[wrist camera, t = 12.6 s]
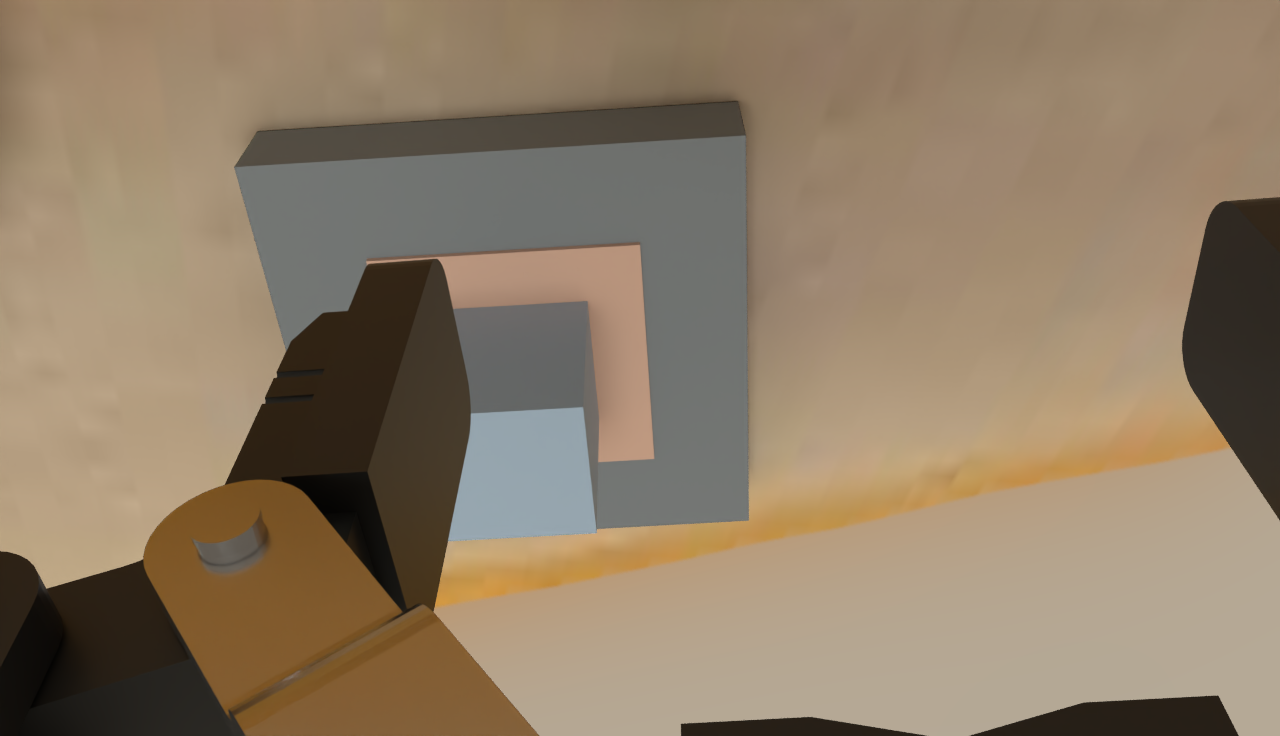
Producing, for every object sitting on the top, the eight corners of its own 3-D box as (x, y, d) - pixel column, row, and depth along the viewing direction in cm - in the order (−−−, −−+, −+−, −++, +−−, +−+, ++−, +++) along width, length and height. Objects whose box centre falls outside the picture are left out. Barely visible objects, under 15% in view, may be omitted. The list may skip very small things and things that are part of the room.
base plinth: (738, 101, 38) (746, 138, 35) (742, 474, 47) (749, 524, 44) (257, 131, 38) (232, 169, 36) (353, 495, 47) (339, 546, 45)
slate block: (587, 300, 39) (583, 407, 34) (599, 419, 41) (596, 533, 36) (440, 309, 39) (413, 416, 34) (461, 427, 42) (440, 541, 37)
